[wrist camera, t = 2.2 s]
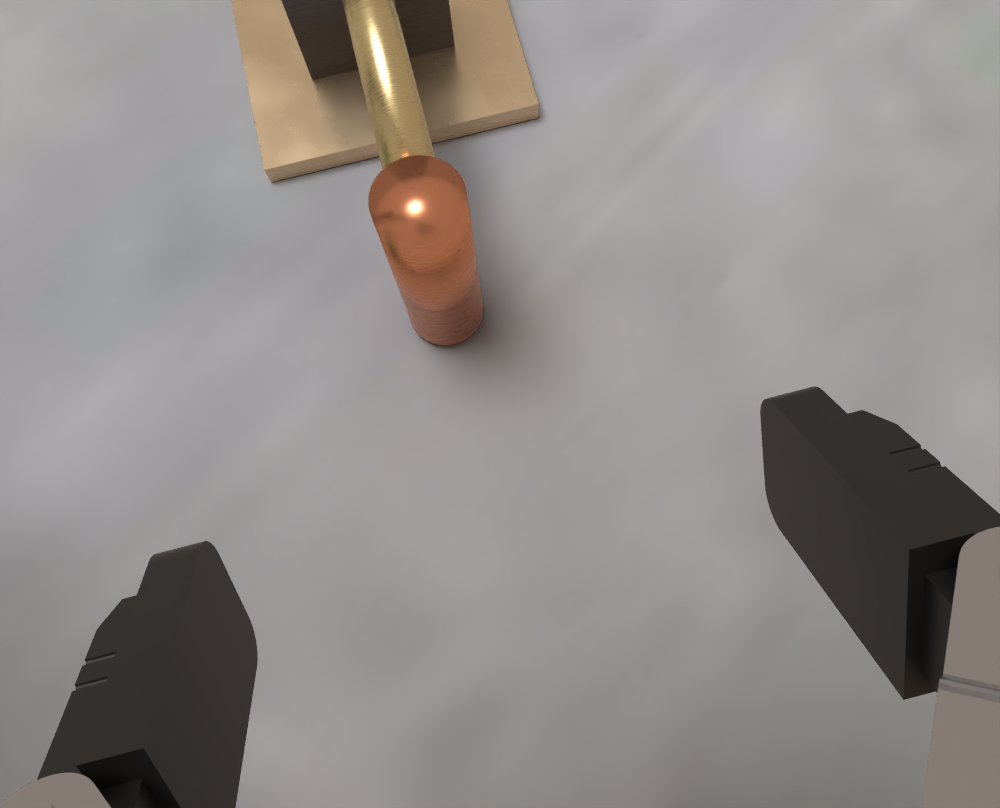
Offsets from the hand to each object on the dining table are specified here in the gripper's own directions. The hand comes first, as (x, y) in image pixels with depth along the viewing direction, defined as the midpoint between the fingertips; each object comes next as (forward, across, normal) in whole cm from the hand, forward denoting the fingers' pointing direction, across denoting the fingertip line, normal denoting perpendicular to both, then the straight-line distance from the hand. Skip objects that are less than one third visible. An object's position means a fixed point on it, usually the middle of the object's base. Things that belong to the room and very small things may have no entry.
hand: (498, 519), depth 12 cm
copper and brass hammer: (+28, 0, -1) cm, 28 cm away
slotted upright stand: (+32, 0, -3) cm, 32 cm away
